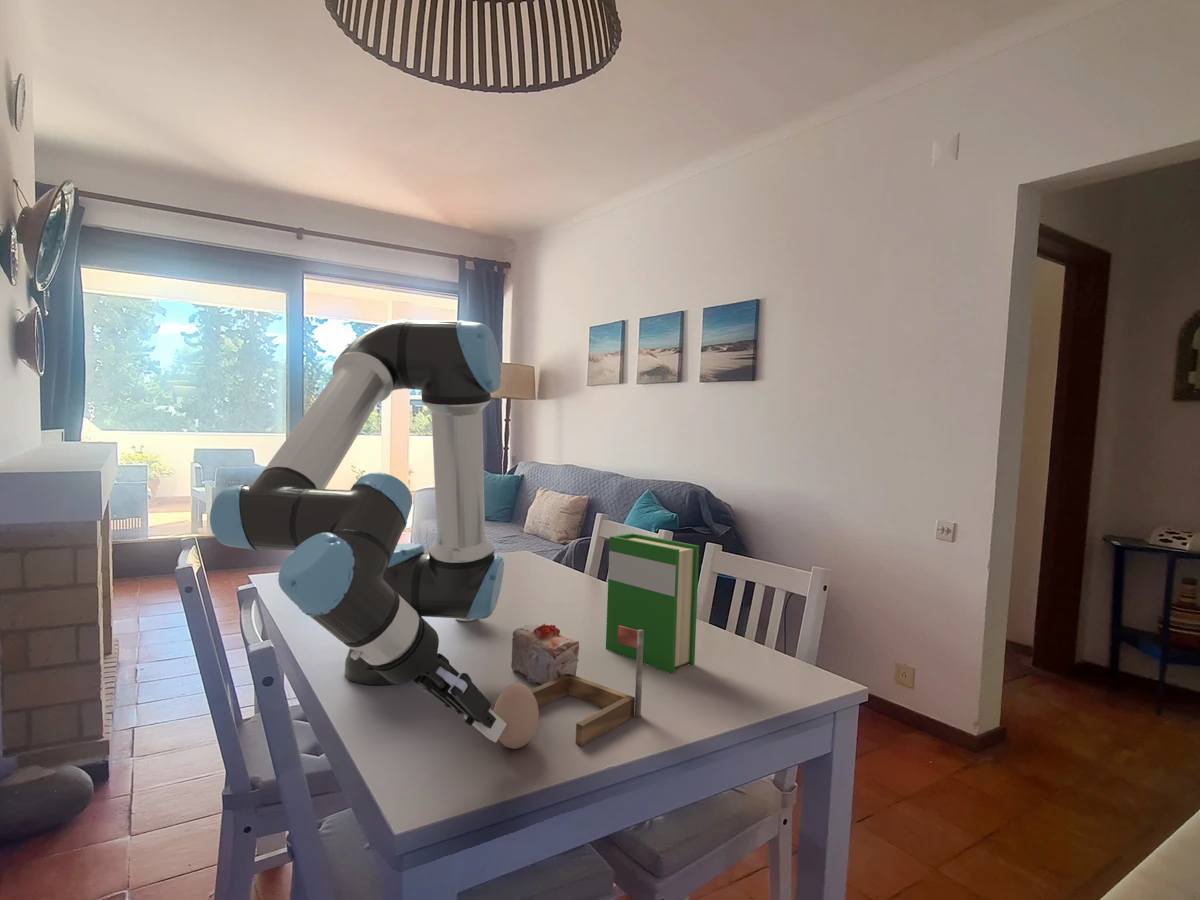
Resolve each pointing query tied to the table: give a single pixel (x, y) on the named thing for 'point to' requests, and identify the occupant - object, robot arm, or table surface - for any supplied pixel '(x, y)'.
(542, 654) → the food item
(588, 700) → the mini golf hole
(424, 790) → the table surface
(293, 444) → the robot arm
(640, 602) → the hardback book
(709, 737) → the table surface
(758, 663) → the table surface
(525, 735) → the egg
